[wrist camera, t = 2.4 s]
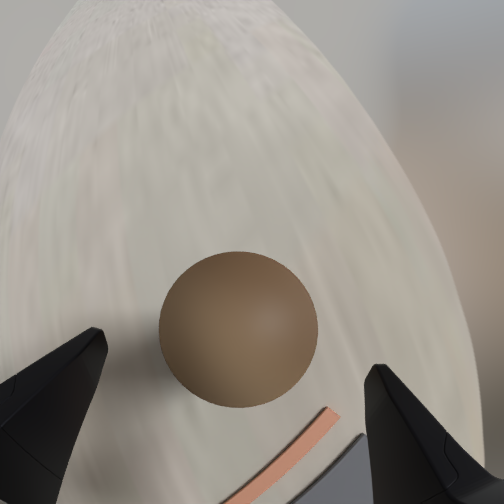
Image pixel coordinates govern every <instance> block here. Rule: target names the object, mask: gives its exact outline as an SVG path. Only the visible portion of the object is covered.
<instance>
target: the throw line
mask: <svg viewBox="0 0 504 504" xmlns="http://www.w3.org/2000/svg"><path fill="white" fill-rule="evenodd" d="M339 418H340V416H339V415H338V414H336V413H335V412H334V411H332V410H331V409H330V408H328V407H326V408H325V409H324V410H323V412H322V413H321V414H320V415H319V416H318V417H317V418H316V419H315V420H314V421H313V423H312V424H311V425H310V426H309V427H308V428H307V429H306V430H305V431H304V432H303V433H302V434H301V435H300V436H299V437H298V438H297V439H296V440H295V441H294V442H293V443H292V444H291V445H290V446H289V447H288V448H287V449H286V450H285V451H284V452H283V453H282V454H281V455H280V456H279V457H278V458H277V459H276V460H275V461H273V462H272V463H271V464H270V465H269V466H268V467H267V468H266V469H265V470H263V471H262V472H261V473H260V474H259V475H258V476H257V477H255V478H254V479H253V480H252V481H251V482H250V483H248V484H247V485H246V486H245V487H244V488H242V489H241V490H240V491H239V492H237V493H236V494H235V495H234V496H232V497H231V498H230V499H228V500H227V501H226V502H224V503H223V504H250V503H251V502H252V501H253V500H255V499H256V498H257V497H258V496H260V495H261V494H262V493H263V492H265V491H266V490H267V489H268V488H269V487H270V486H272V485H273V484H274V483H275V482H276V481H277V480H279V479H280V478H281V477H282V476H283V475H284V474H285V473H286V472H288V471H289V470H290V469H291V468H292V467H293V466H294V465H295V464H296V463H297V462H298V461H299V460H300V459H301V458H302V457H303V456H304V455H305V454H306V453H307V452H308V451H309V450H310V449H311V448H312V447H313V446H314V445H315V444H316V443H317V442H318V441H319V440H320V439H321V438H322V437H323V436H324V435H325V434H326V433H327V432H328V431H329V429H330V428H331V427H332V426H333V425H334V424H335V423H336V422H337V421H338V419H339Z"/></svg>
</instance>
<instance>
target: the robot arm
mask: <svg viewBox="0 0 504 504" xmlns="http://www.w3.org/2000/svg"><path fill="white" fill-rule="evenodd" d="M107 353H108V344H107V341H106V338H105V335H104V332H103V330H102V329H99V328H95V327H91V328H89V329H87V330H86V331H84V332H82V333H81V334H79V335H78V336H76V337H74V338H73V339H71V340H69V341H68V342H66V343H65V344H63V345H61V346H60V347H58V348H57V349H55V350H53V351H52V352H50V353H49V354H47V355H45V356H44V357H42V358H41V359H39V360H37V361H36V362H34V363H33V364H31V365H30V366H28V367H26V368H25V369H23V370H22V371H20V372H19V373H17V375H14V376H12V377H11V378H9V379H7V380H6V381H4V382H3V383H1V384H0V504H56V501H57V498H58V494H59V491H60V487H61V484H62V480H63V477H64V474H65V471H66V468H67V465H68V462H69V459H70V456H71V453H72V450H73V447H74V445H75V442H76V439H77V436H78V434H79V431H80V428H81V426H82V423H83V421H84V418H85V415H86V413H87V410H88V408H89V405H90V403H91V401H92V398H93V396H94V393H95V391H96V388H97V385H98V382H99V379H100V375H101V372H102V369H103V366H104V362H105V359H106V356H107ZM364 395H365V424H366V433H367V440H368V449H369V458H370V468H371V478H372V491H373V504H504V480H502V479H499V478H497V477H494V476H493V475H491V474H490V473H489V472H487V471H486V470H485V469H484V468H483V467H482V466H481V465H480V464H479V463H478V462H477V461H476V460H474V459H473V458H472V457H471V456H470V455H469V454H468V453H467V452H466V451H465V450H464V449H463V448H462V447H461V446H460V445H459V444H458V443H457V442H456V441H455V440H454V439H453V437H452V436H451V435H450V434H449V433H448V432H446V430H445V429H444V427H443V426H442V425H441V424H440V423H439V422H438V421H437V420H436V418H435V417H434V416H433V415H432V414H431V413H430V412H429V411H428V410H427V408H426V407H425V406H424V405H423V404H422V403H421V402H420V401H419V400H418V399H417V397H416V396H415V395H414V394H413V393H412V392H411V391H410V390H409V389H408V388H407V387H406V385H405V384H404V383H403V382H402V381H401V380H400V379H399V378H398V377H397V376H396V375H395V373H394V372H393V371H392V370H391V369H390V368H389V367H388V366H387V365H386V364H374V365H373V366H372V368H371V370H370V372H369V373H368V375H367V377H366V379H365V382H364Z"/></svg>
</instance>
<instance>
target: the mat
mask: <svg viewBox="0 0 504 504" xmlns="http://www.w3.org/2000/svg"><path fill="white" fill-rule="evenodd" d="M291 504H373V491H372V478H371V468H370V458H369V449H368V440H367V436H366V435H365V434H364V433H362V434H361V435H360V436H359V437H358V439H357V440H356V441H355V442H354V443H353V444H352V445H351V446H350V447H349V449H348V450H347V451H346V452H345V453H344V454H343V455H342V456H341V457H340V458H339V459H338V460H337V461H336V462H335V463H334V464H333V465H332V466H331V467H330V468H329V469H328V470H327V471H326V472H325V473H324V474H323V475H322V476H321V477H320V478H319V479H318V480H317V481H316V482H315V483H314V484H313V485H311V486H310V487H309V488H308V489H307V490H306V491H305V492H304V493H302V494H301V495H300V496H299V497H298V498H297V499H295V500H294V501H293V502H292V503H291Z"/></svg>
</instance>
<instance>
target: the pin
mask: <svg viewBox="0 0 504 504" xmlns="http://www.w3.org/2000/svg"><path fill="white" fill-rule="evenodd" d="M317 337H318V322H317V316H316V311H315V308H314V304H313V302H312V300H311V297H310V295H309V293H308V292H307V290H306V288H305V287H304V285H303V284H302V283H301V281H300V280H299V279H298V278H297V277H296V276H295V275H294V274H293V273H292V272H291V271H290V270H289V269H287V268H286V267H285V266H283V265H282V264H280V263H278V262H277V261H275V260H273V259H271V258H268V257H266V256H263V255H259V254H256V253H250V252H226V253H221V254H217V255H213V256H210V257H208V258H205V259H203V260H201V261H199V262H198V263H196V264H194V265H193V266H191V267H190V268H189V269H187V270H186V271H185V272H184V273H183V274H182V275H181V276H180V277H179V278H178V279H177V280H176V282H175V283H174V284H173V286H172V287H171V289H170V290H169V292H168V294H167V296H166V298H165V300H164V303H163V306H162V309H161V314H160V320H159V338H160V344H161V349H162V352H163V355H164V358H165V361H166V363H167V364H168V366H169V368H170V370H171V371H172V373H173V374H174V376H175V377H176V378H177V380H178V381H179V382H180V383H181V384H182V385H183V386H184V387H185V388H187V389H188V390H189V391H190V392H191V393H193V394H195V395H196V396H198V397H199V398H201V399H203V400H206V401H208V402H210V403H213V404H216V405H220V406H225V407H232V408H245V407H253V406H257V405H261V404H265V403H267V402H270V401H272V400H274V399H276V398H278V397H280V396H281V395H283V394H284V393H286V392H287V391H288V390H290V389H291V388H292V387H293V386H294V385H295V384H296V383H297V382H298V381H299V380H300V379H301V377H302V376H303V375H304V373H305V372H306V370H307V368H308V367H309V365H310V363H311V360H312V358H313V356H314V352H315V349H316V345H317Z"/></svg>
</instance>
